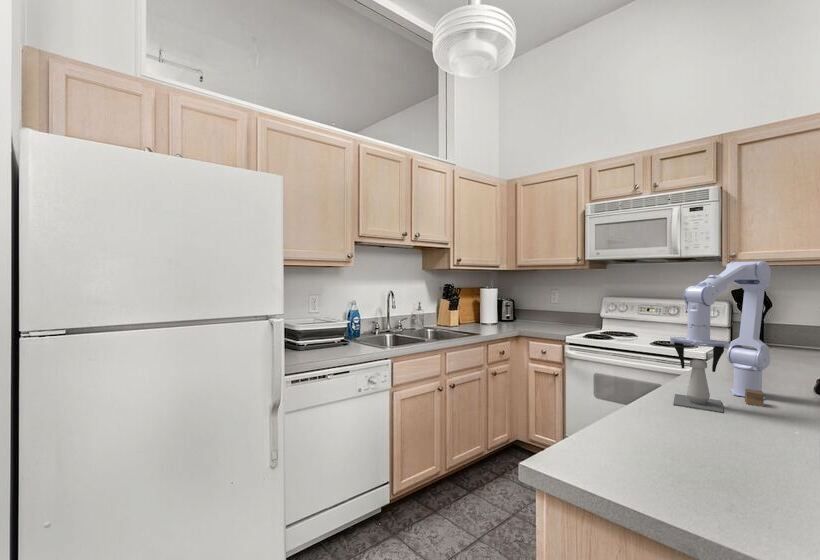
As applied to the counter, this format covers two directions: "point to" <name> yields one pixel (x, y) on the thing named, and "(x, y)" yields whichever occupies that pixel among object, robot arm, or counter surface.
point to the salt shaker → (698, 383)
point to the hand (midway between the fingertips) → (698, 369)
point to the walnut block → (754, 397)
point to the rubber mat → (709, 406)
